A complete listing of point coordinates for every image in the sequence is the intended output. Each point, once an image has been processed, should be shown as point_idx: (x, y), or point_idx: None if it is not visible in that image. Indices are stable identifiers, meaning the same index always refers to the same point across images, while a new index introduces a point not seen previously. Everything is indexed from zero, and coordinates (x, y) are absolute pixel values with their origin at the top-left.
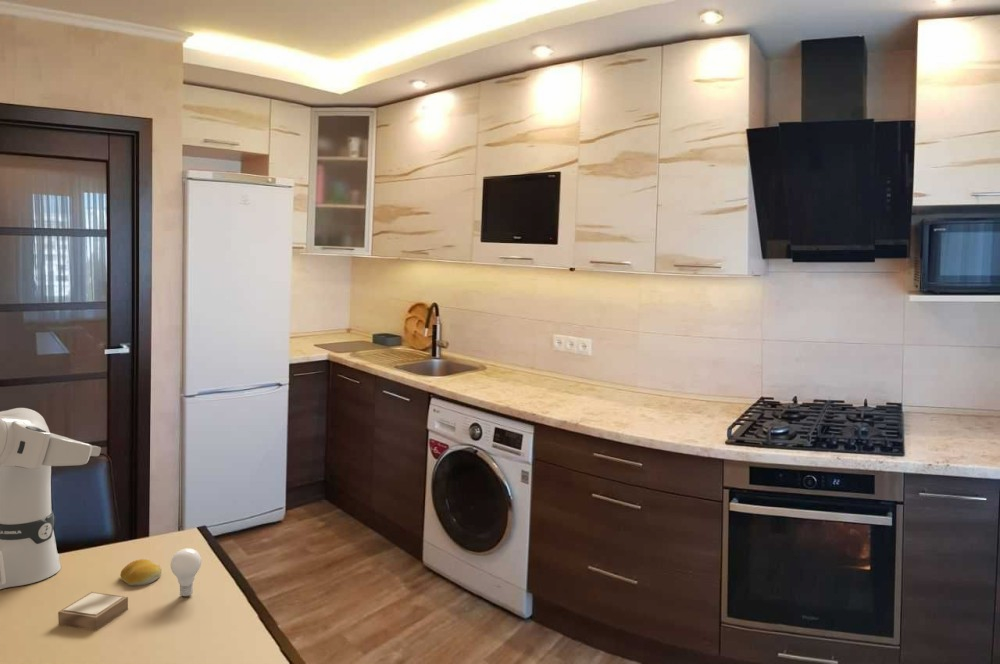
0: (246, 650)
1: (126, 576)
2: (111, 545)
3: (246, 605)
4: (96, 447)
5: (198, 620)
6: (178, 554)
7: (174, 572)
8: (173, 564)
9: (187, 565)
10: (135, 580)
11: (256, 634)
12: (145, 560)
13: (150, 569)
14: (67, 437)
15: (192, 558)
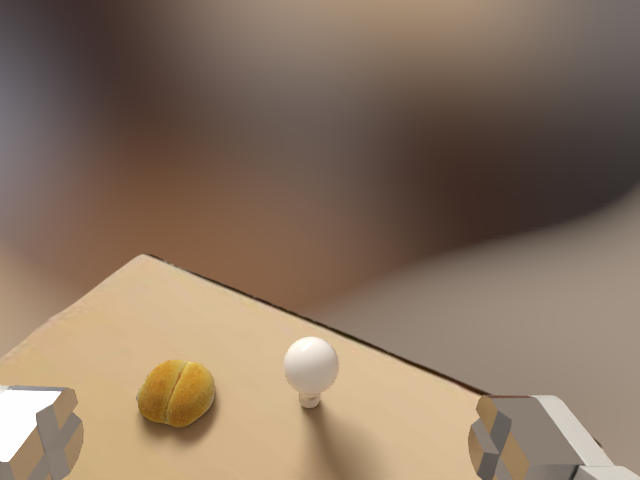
0: None
1: (163, 415)
2: (25, 342)
3: (416, 373)
4: (585, 433)
5: (404, 448)
6: (310, 366)
7: (310, 394)
8: (309, 386)
9: (334, 375)
10: (193, 417)
11: None
12: (169, 367)
13: (203, 384)
14: (25, 392)
15: (335, 359)
